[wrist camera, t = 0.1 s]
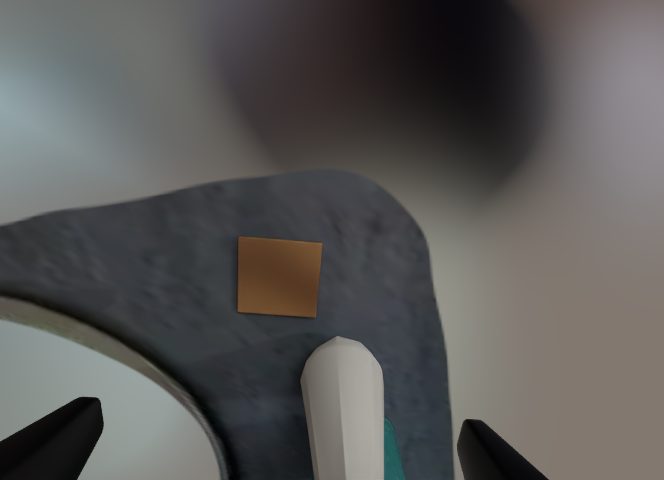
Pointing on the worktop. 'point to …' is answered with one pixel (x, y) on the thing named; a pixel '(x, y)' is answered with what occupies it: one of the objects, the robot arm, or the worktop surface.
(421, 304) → the worktop surface
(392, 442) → the tin
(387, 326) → the worktop surface
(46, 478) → the robot arm
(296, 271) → the coaster
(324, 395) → the salt shaker
